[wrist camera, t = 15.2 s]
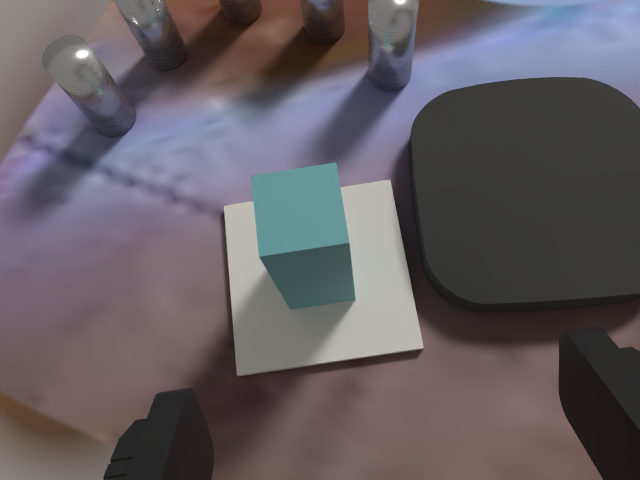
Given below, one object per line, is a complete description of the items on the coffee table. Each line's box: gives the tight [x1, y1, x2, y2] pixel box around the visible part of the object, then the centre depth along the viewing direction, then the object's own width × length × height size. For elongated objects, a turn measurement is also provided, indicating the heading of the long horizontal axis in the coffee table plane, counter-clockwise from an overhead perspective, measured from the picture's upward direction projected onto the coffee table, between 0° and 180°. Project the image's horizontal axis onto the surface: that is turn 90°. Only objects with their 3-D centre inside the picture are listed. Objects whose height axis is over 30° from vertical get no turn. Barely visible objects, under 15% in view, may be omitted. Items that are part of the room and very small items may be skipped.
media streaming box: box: [409, 77, 640, 312], centre depth 34 cm, size 15×15×3 cm
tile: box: [224, 180, 424, 376], centre depth 34 cm, size 11×11×1 cm
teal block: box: [251, 162, 356, 310], centre depth 30 cm, size 4×4×10 cm
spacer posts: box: [42, 0, 419, 137], centre depth 38 cm, size 23×11×7 cm, turn 98°
